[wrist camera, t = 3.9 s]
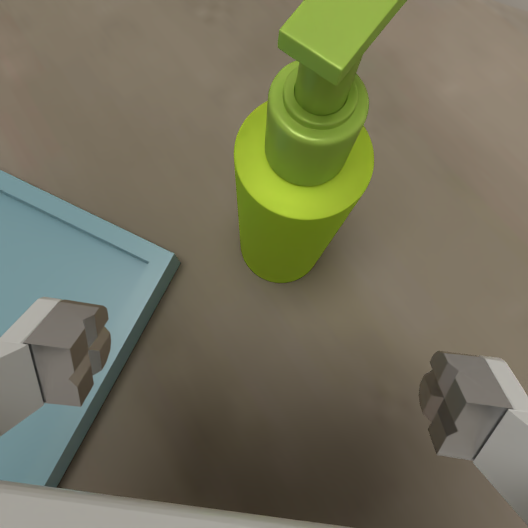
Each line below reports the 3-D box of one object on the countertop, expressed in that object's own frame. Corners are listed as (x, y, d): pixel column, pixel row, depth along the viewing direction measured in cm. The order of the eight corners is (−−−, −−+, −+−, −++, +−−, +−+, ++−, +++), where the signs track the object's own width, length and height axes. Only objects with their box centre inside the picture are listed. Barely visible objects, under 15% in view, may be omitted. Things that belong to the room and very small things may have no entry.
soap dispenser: (342, 227, 29) (524, -32, 10) (288, 299, 28) (378, 160, 9) (280, 182, 30) (336, -139, 11) (224, 251, 29) (172, 21, 9)
